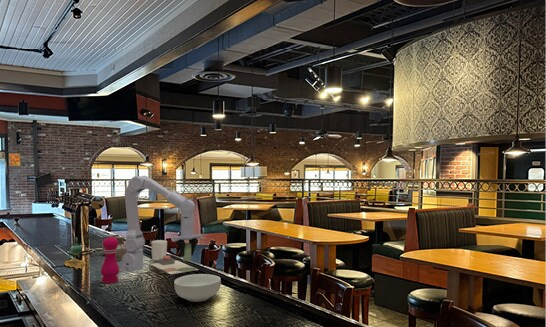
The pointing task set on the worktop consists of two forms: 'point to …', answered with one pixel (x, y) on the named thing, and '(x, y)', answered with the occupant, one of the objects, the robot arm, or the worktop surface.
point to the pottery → (119, 247)
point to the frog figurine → (75, 251)
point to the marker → (187, 252)
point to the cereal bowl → (197, 286)
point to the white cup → (159, 249)
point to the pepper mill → (110, 260)
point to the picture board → (173, 266)
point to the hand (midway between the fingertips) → (186, 255)
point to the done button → (166, 258)
